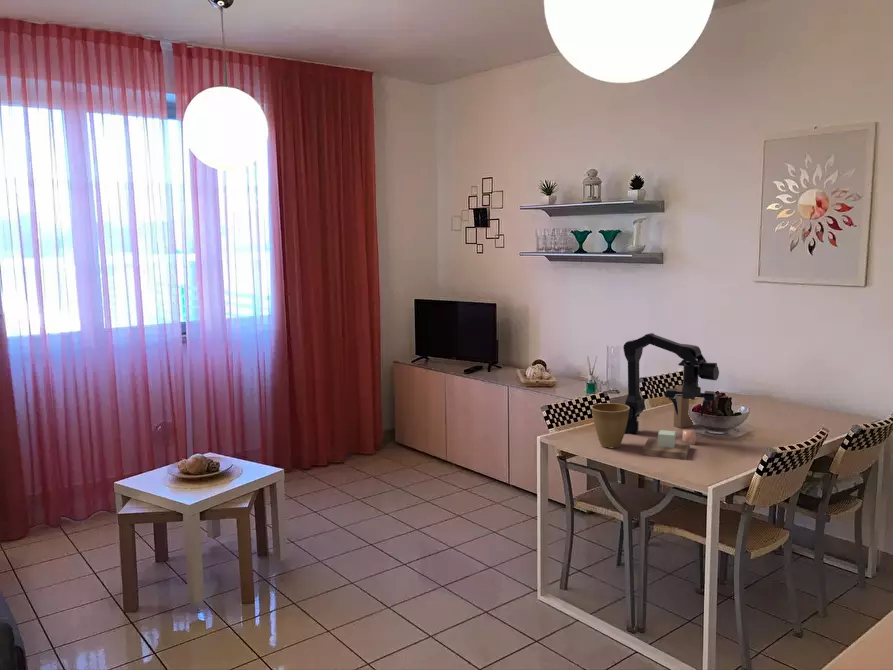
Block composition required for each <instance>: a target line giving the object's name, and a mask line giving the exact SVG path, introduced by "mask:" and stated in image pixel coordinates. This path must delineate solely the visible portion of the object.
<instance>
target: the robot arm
mask: <svg viewBox="0 0 893 670" xmlns="http://www.w3.org/2000/svg"><path fill="white" fill-rule="evenodd" d="M650 345H651V346H655V347H656V348H659V349H663V350H665V351H668V352H671V353H673V354H675V355H677V357H679V358H680V359H682V360H681V361H680V362H679V363H678V366H679V367H681V366H682V367H683V375H682V380H683V381H682V385H683V387H682V391H677V389H675V388H671V387H670V388H667V389H666V390H665V394H664V397H665V398H668V400H669V401H671V402H672V404H673V408H674V407H675V410H676V413H677V415H678V396H682V398H683V399H689V400H693V401H694V400H695V399H696V398H703V401H702V405H701V411H700V417H701V418H702V417H703V415H704V413H705V409H706V407H707V405H708V404H710V403H712V402H714V401H715V400H716V392H715V391H714V390H713V391H712V390H704V392H702V391H701V390H702V389H701V387H700V386H699V378H700V379H701V380H709V381H717V380H718V379H719V376H720V369H719V367H718V363H717V362H707V360H706V358H705V357H704V355H703V354H702V351H701V349H700V347H699V346H698V345H694V344H685V343H679V342H676V341H674V340H671V339H668V338H665V337H662V336H659V335H657V334H655V333H654V332H653V333H652V332H650V333H646V334H645V335H643V336H642V337H641V336H640V337H639V338H637V339H632V340H629V341H626V342H625V343H624V345H623V347H622V348H623V352H624V357H625V359H626V361H627V391H628V392H627V397H626V399H625V402H624V405H627V406H629V407H630V409H629V416H628V421H627V426H626V430H625V433H624V434H628V433H634V434H633V435H637V433H638V432H639V430H640V427H639V425H640V421H639V420H638V418H639V417H640V416H641V414H642V413H643V411H644V409H645V408H646V405H645V401H646V399H645V397H644V398H642V396H641V394H640V393H641V392H640V391H641V390H640V387H641V386H640V360H641V357H642V355H643V352H644V351H643V350H644V348H646V347H647V346H650Z"/></svg>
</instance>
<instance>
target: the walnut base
mask: <svg viewBox="0 0 893 670" xmlns="http://www.w3.org/2000/svg"><path fill="white" fill-rule="evenodd" d="M690 448H691V445H690V442H687V441H682V440H677V439H676V441H675V446H674V448H668V447H658V438H655V437H654V438H653V437H648V438H647V440H646V441H645V444H644V446H643V447H642V456H646V455H647V456H648V457H656V456H657V458H665V457H666V459H667V458H668V459H675V460H676V459H677V460H685V459H686V460H687V458H688V455H689V452H690Z"/></svg>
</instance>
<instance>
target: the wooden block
mask: <svg viewBox="0 0 893 670" xmlns="http://www.w3.org/2000/svg"><path fill="white" fill-rule="evenodd" d="M682 387H683V384H681V385H675V386H674V389H677V391H682ZM673 408H674V409H673V427H676V428H679V429H684V428H685V429H686V428H688V427H689V426H690V427H694V426H693V422H692V420H691V419H690V417H689V415H688V410H689V411H690V399H683V398H682V396H678V415H677V413H676V410H675V407H674V406H673ZM690 427H689V428H690Z"/></svg>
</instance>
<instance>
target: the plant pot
mask: <svg viewBox="0 0 893 670" xmlns="http://www.w3.org/2000/svg"><path fill="white" fill-rule="evenodd" d="M590 408H591V414H592V419H593V423H594V425H593V426H594V428H595V432H596V434H597V435H596V436H597V438H598V441H599V443H600V446H601V445H602V446H605V447H613V448H612V449H615V448H614V447H618V448H620V447H621V444H622V442H623V439H624V436H625V434H626V433H625V430H626V426H627V421H628V416H629V409H630V407H629V406H627V405H625V404H622V403H612V402H606V403H603V402H602V403H596V404H593V405H592V406H591V407H590ZM602 446H601V447H602ZM605 447H604V448H605Z"/></svg>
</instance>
